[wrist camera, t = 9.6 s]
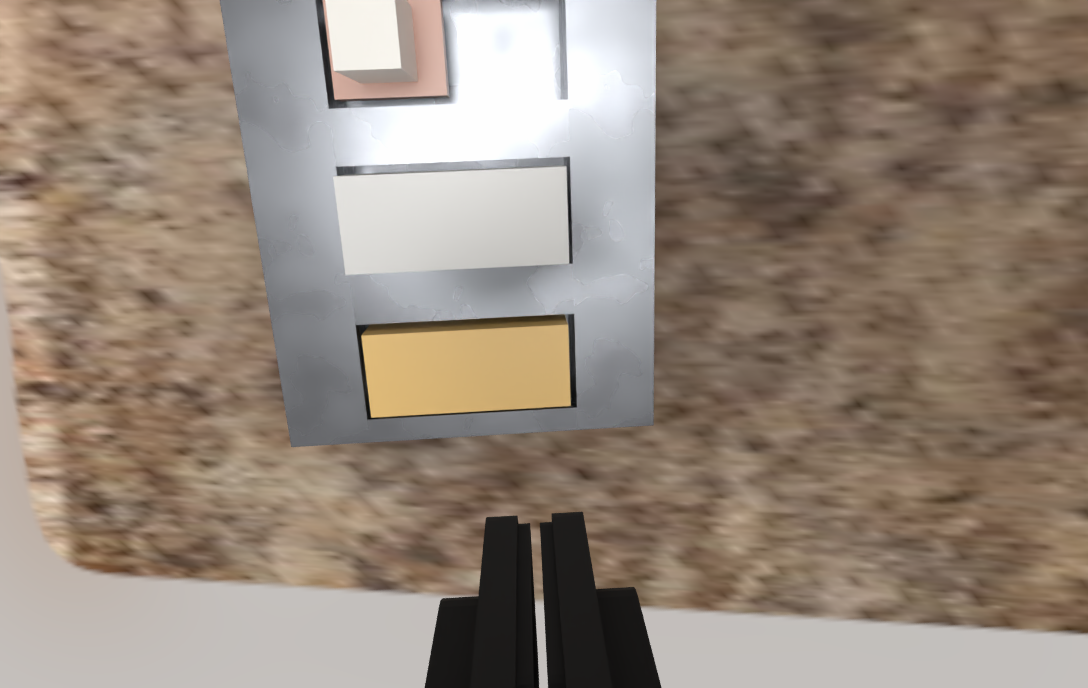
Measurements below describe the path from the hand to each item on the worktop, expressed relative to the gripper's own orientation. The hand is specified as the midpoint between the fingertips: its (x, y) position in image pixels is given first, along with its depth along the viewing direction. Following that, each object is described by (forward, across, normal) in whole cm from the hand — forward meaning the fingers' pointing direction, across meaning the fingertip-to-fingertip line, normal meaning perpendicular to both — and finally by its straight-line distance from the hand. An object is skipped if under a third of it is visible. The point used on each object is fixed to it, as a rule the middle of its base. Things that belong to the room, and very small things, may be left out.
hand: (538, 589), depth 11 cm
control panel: (+20, +2, -5) cm, 21 cm away
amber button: (+17, +3, +1) cm, 17 cm away
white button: (+16, +2, -5) cm, 17 cm away
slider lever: (+17, +4, -11) cm, 20 cm away
